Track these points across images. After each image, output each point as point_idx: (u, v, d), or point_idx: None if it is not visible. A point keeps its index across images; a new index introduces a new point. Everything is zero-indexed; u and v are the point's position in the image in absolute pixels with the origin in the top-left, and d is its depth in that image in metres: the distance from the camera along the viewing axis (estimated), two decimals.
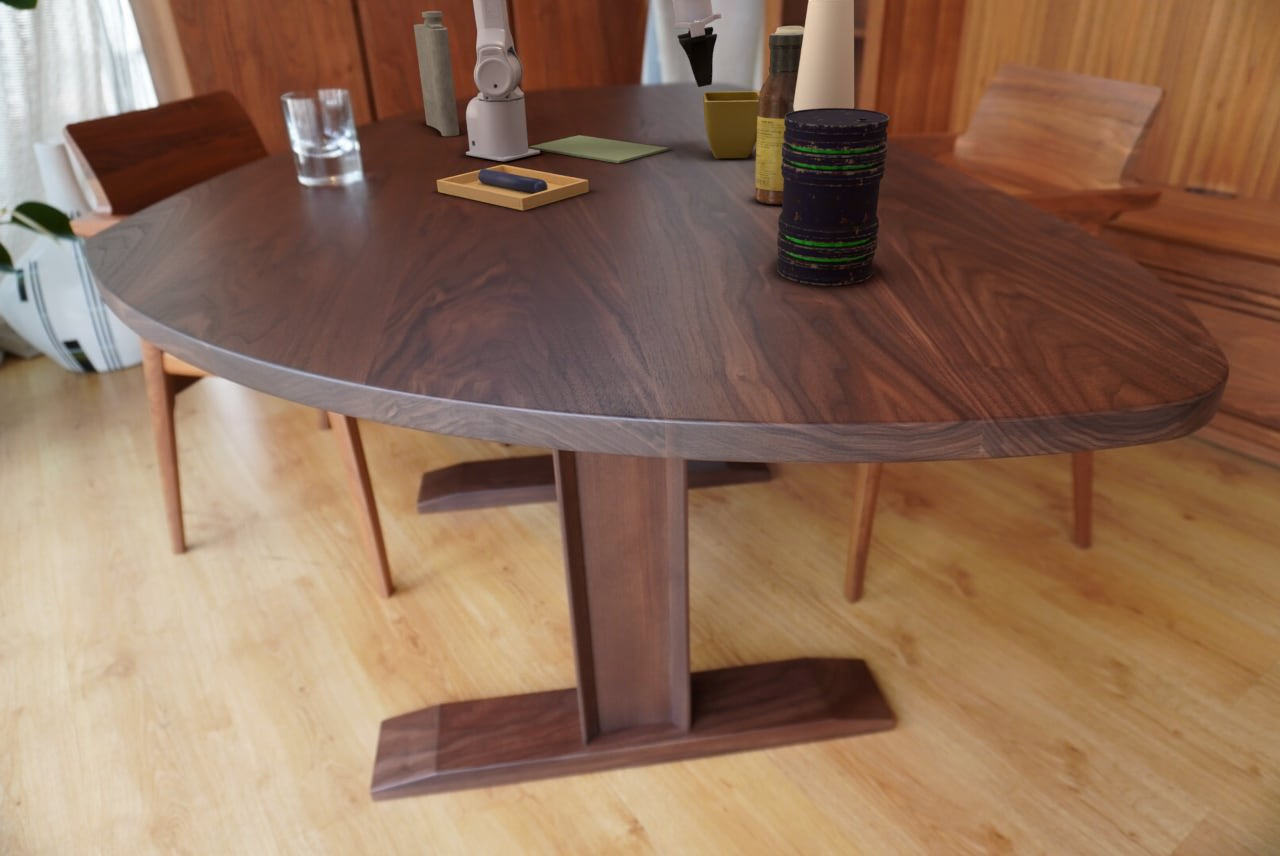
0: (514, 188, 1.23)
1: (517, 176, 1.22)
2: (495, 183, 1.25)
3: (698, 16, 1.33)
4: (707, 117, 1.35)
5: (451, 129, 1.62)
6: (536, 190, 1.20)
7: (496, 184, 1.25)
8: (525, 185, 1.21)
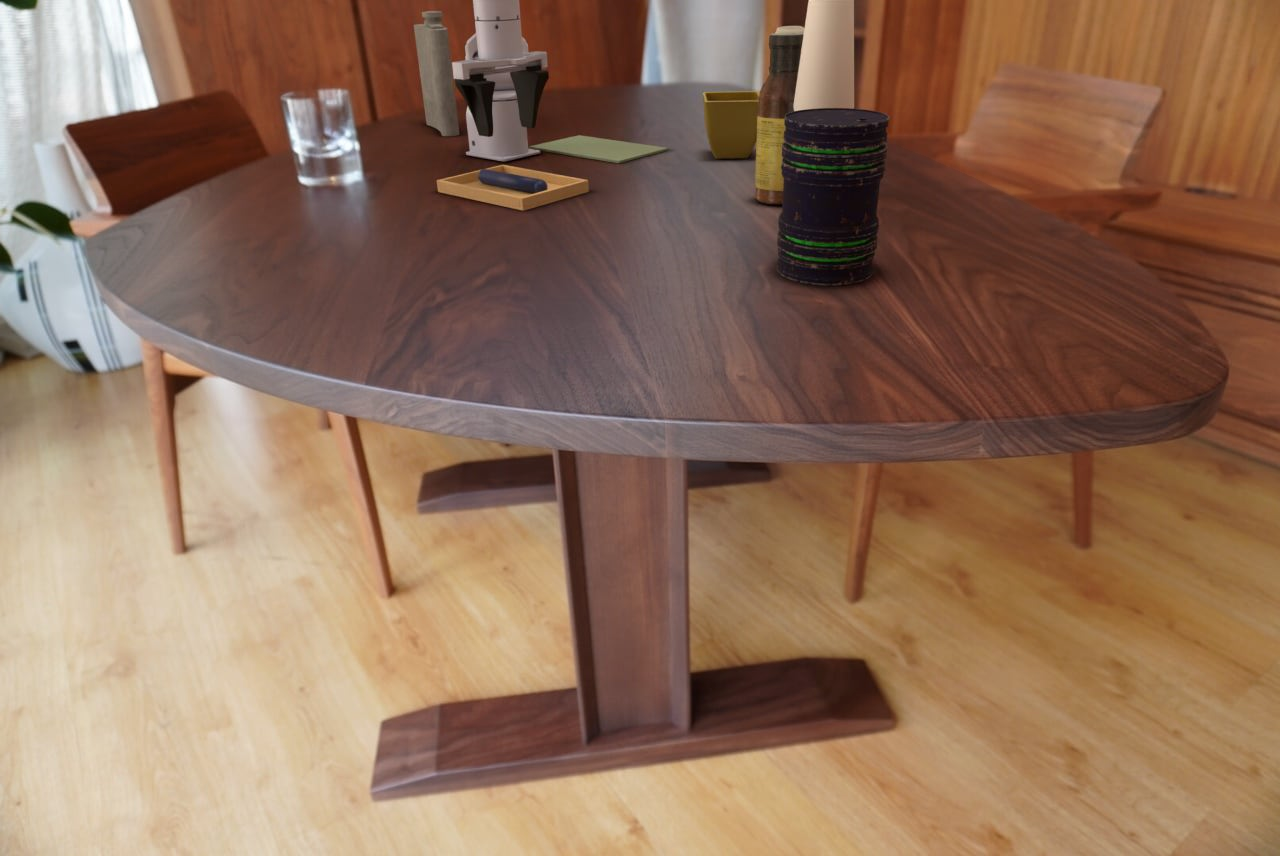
0: (514, 188, 1.23)
1: (517, 176, 1.22)
2: (495, 183, 1.25)
3: (487, 56, 1.14)
4: (707, 117, 1.35)
5: (451, 129, 1.62)
6: (536, 190, 1.20)
7: (496, 184, 1.25)
8: (525, 185, 1.21)
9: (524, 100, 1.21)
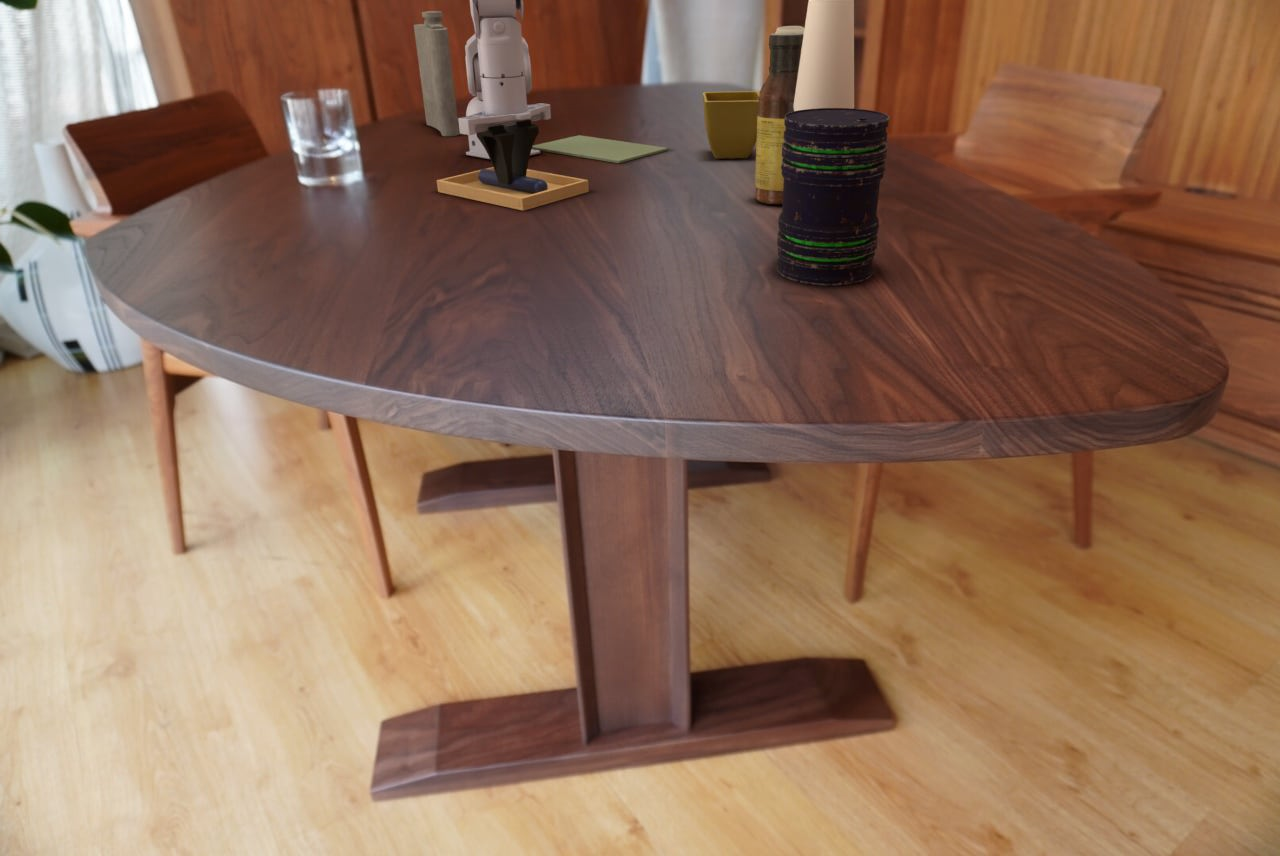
0: (514, 188, 1.23)
1: (517, 176, 1.22)
2: (495, 183, 1.25)
3: (492, 111, 1.17)
4: (707, 117, 1.35)
5: (451, 129, 1.62)
6: (536, 190, 1.20)
7: (496, 184, 1.25)
8: (525, 185, 1.21)
9: (514, 154, 1.23)
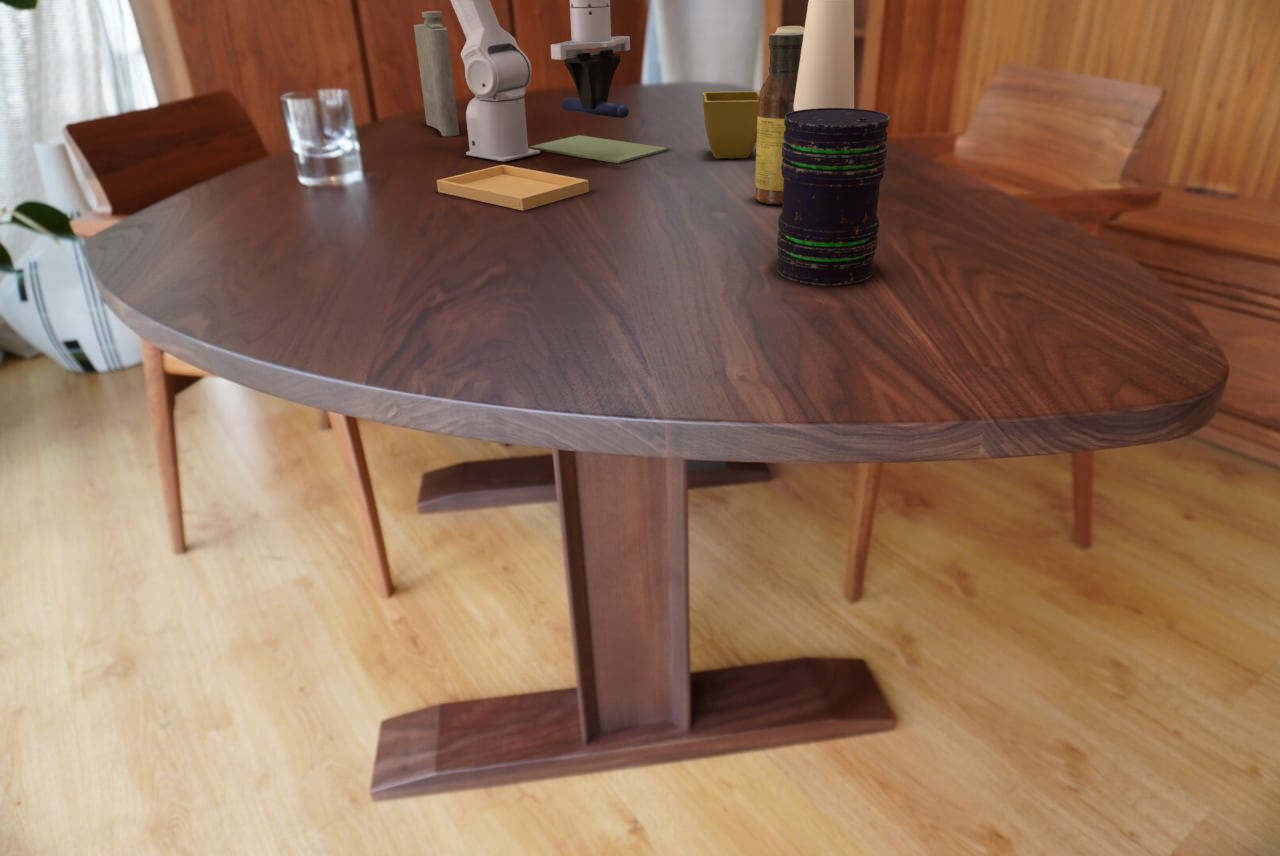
0: (597, 113, 1.34)
1: (600, 101, 1.33)
2: (578, 109, 1.36)
3: (580, 39, 1.28)
4: (707, 117, 1.35)
5: (451, 129, 1.62)
6: (619, 113, 1.31)
7: (579, 110, 1.36)
8: (608, 109, 1.32)
9: (597, 81, 1.34)
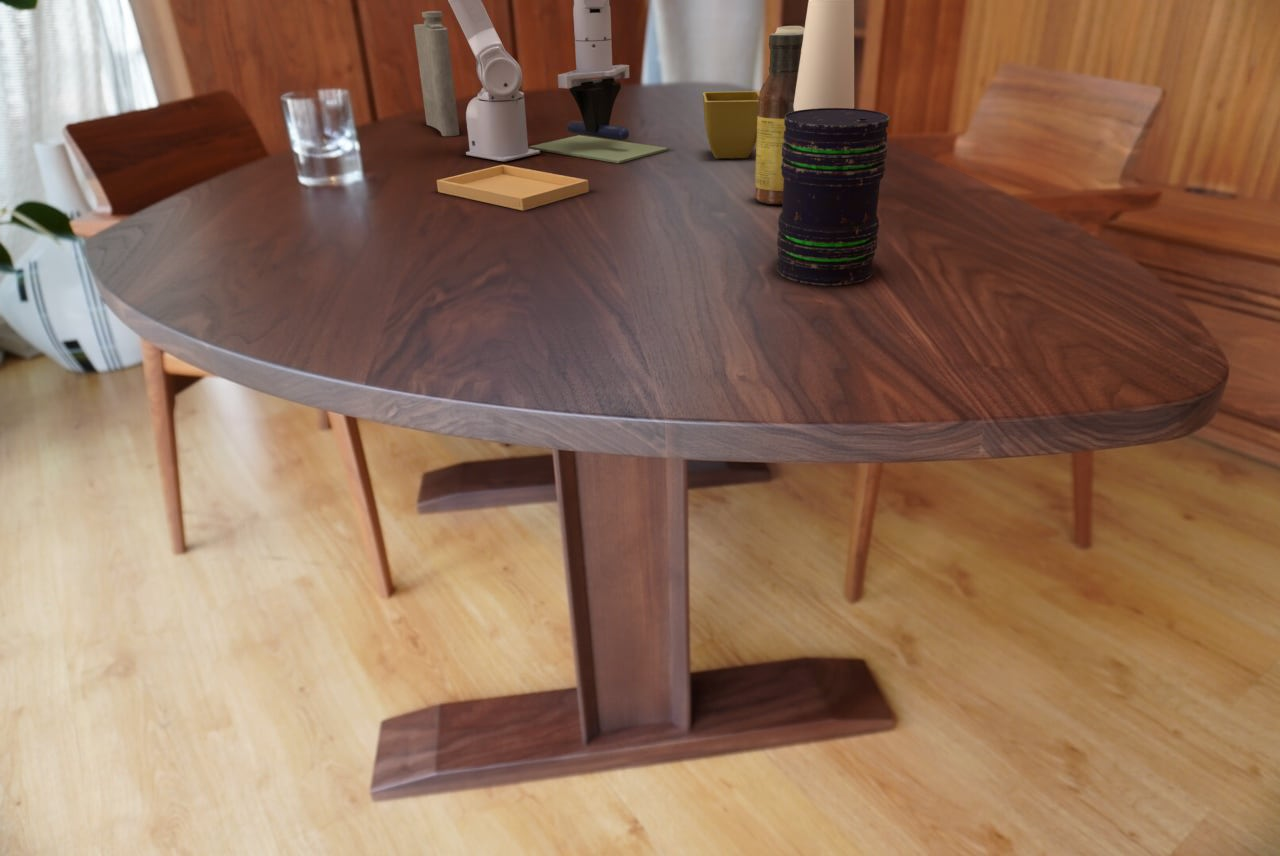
0: (600, 135, 1.46)
1: (603, 125, 1.46)
2: (583, 132, 1.48)
3: (584, 69, 1.41)
4: (707, 117, 1.35)
5: (451, 129, 1.62)
6: (620, 136, 1.43)
7: (584, 133, 1.48)
8: (610, 132, 1.44)
9: (599, 107, 1.46)
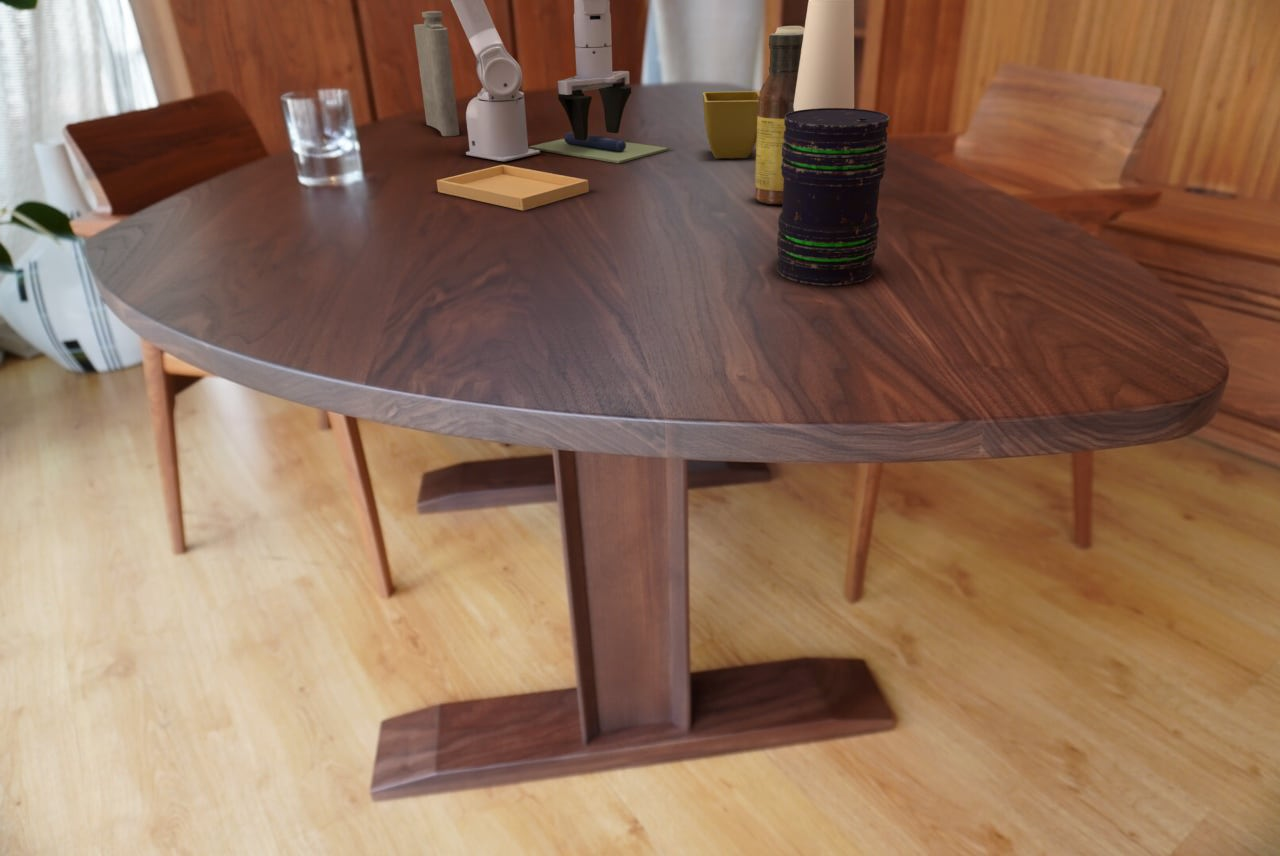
0: (600, 148, 1.47)
1: (597, 140, 1.46)
2: None
3: (585, 76, 1.41)
4: (707, 117, 1.35)
5: (451, 129, 1.62)
6: (619, 151, 1.44)
7: (584, 146, 1.49)
8: (608, 149, 1.45)
9: (610, 110, 1.49)
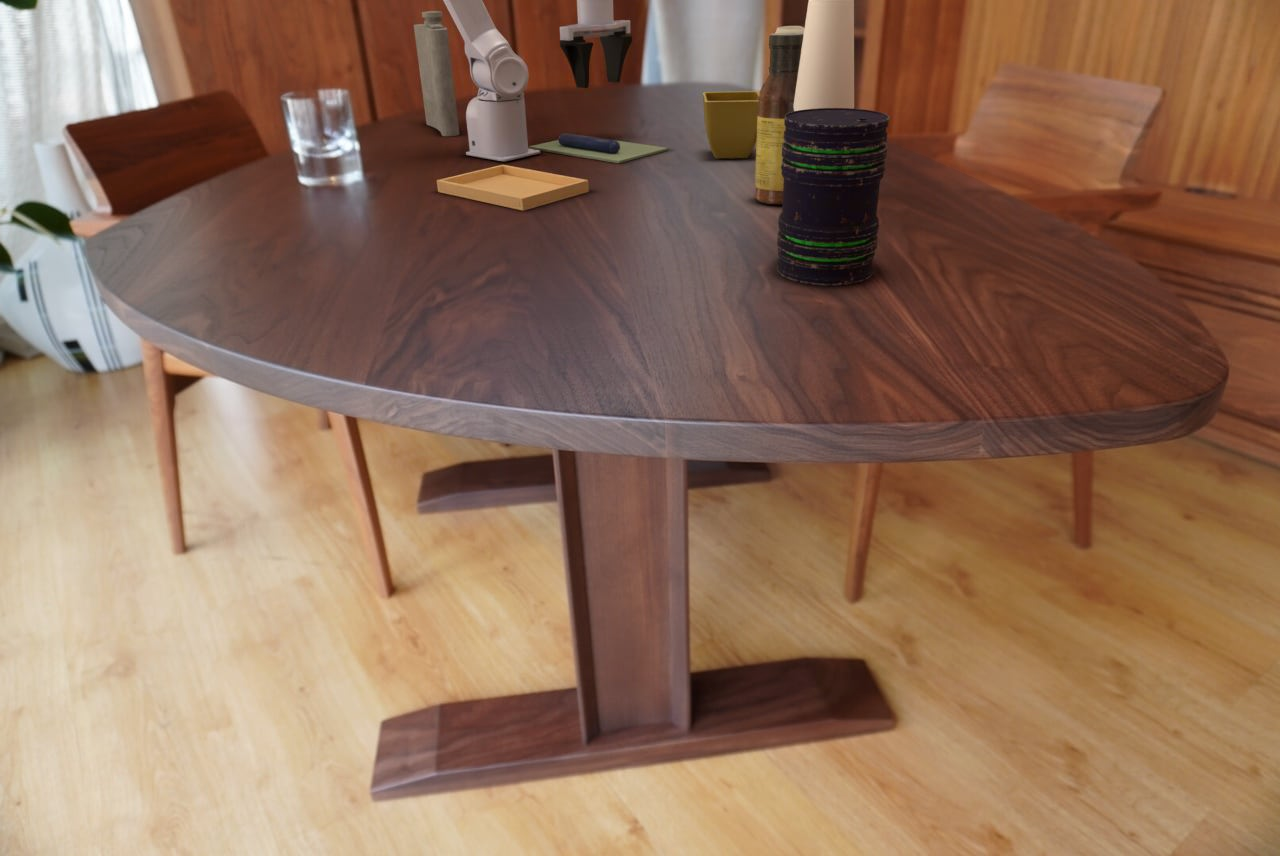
0: None
1: (593, 149, 1.46)
2: None
3: (586, 22, 1.42)
4: (707, 117, 1.35)
5: (451, 129, 1.62)
6: None
7: None
8: None
9: (611, 59, 1.50)
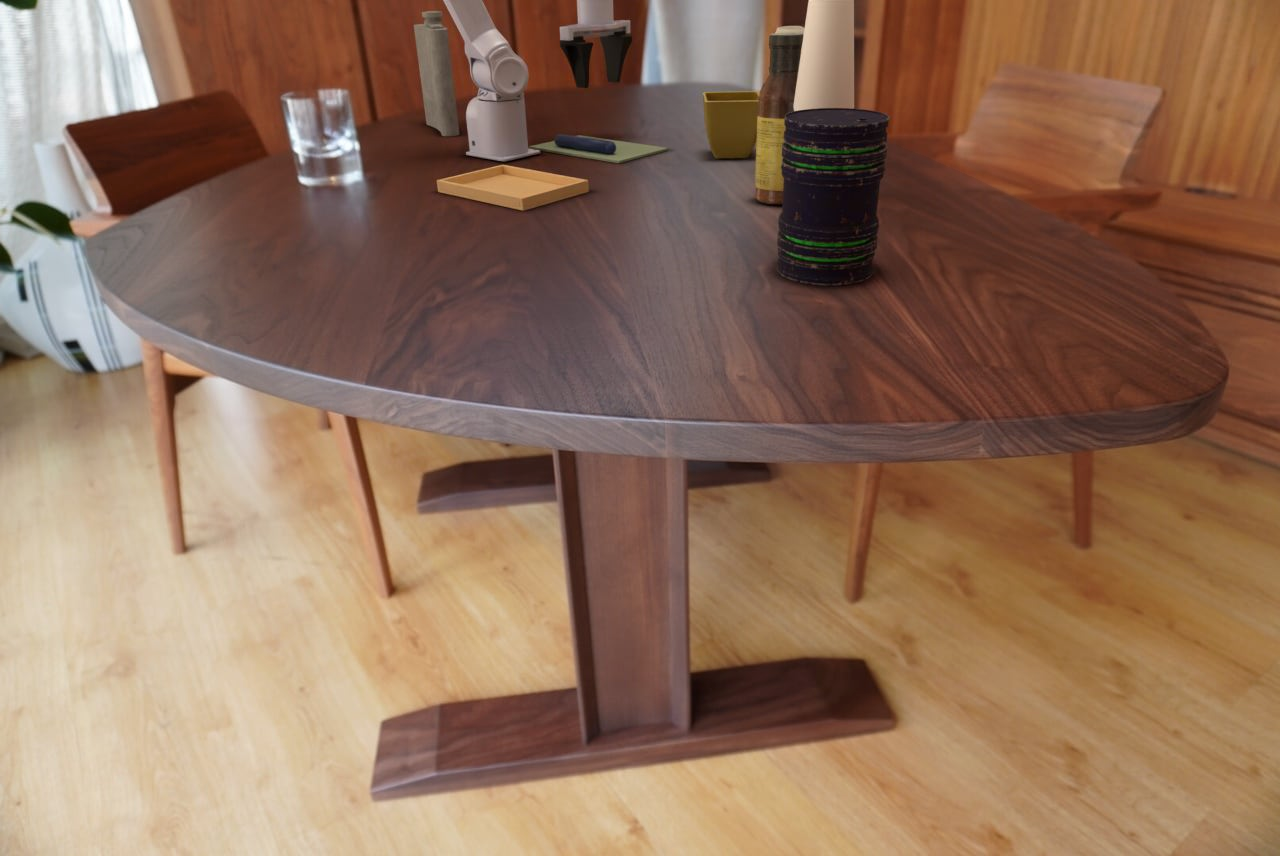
0: None
1: None
2: None
3: (586, 22, 1.42)
4: (707, 117, 1.35)
5: (451, 129, 1.62)
6: None
7: None
8: None
9: (611, 59, 1.50)
